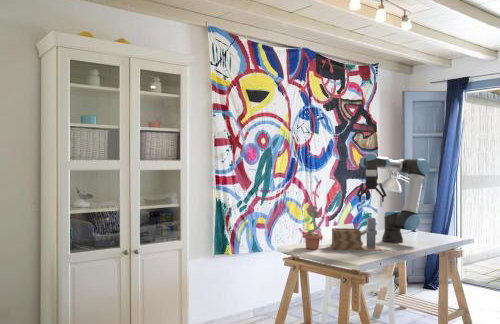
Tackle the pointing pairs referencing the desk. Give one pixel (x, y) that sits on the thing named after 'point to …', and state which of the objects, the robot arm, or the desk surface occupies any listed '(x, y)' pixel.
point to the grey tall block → (371, 232)
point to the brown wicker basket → (346, 239)
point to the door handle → (363, 234)
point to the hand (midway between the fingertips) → (371, 206)
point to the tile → (371, 248)
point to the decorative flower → (312, 238)
